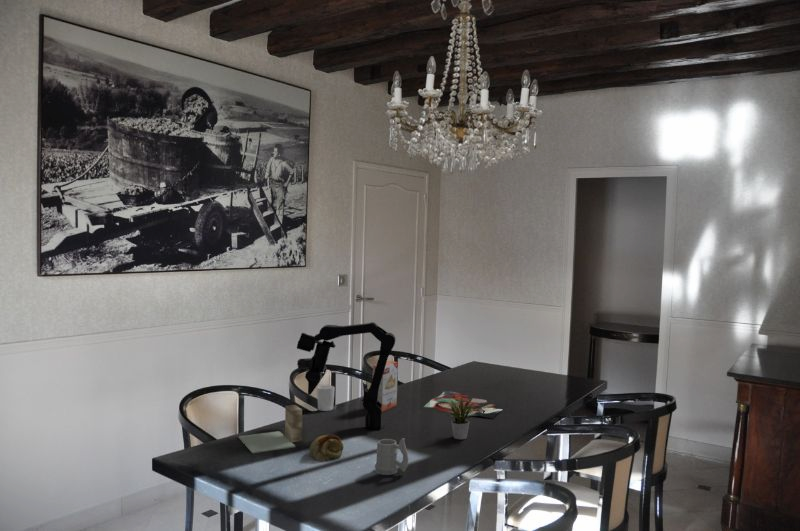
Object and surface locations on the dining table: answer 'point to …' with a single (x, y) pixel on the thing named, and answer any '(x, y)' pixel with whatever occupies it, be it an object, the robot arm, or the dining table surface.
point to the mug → (390, 456)
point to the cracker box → (388, 385)
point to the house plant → (460, 419)
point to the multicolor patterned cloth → (444, 407)
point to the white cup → (325, 397)
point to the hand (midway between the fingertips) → (311, 391)
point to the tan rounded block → (293, 423)
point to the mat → (266, 442)
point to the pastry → (326, 448)
